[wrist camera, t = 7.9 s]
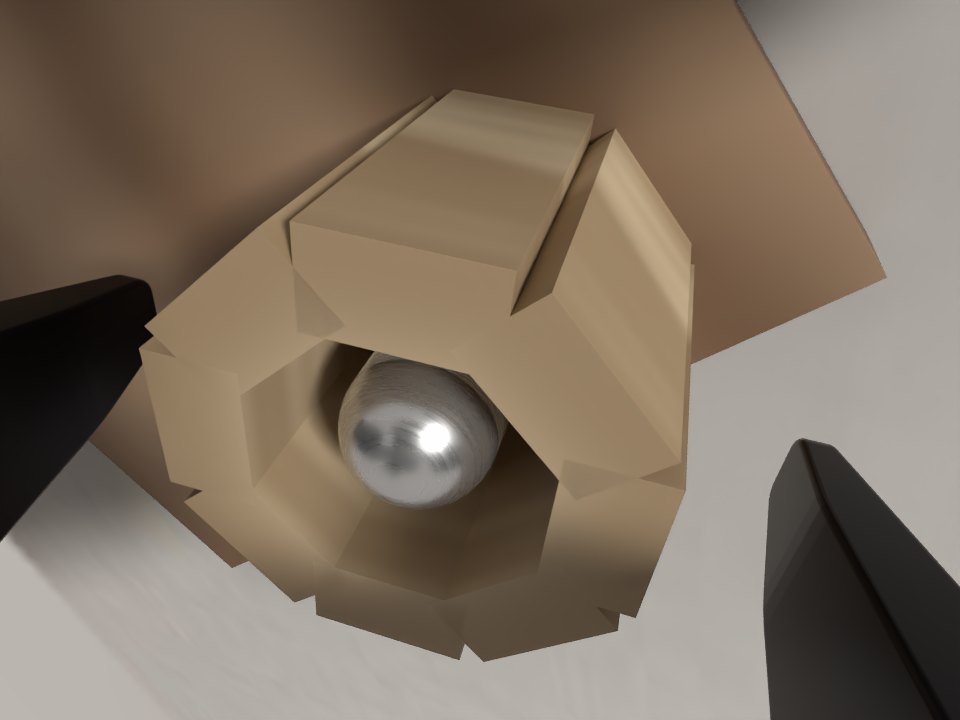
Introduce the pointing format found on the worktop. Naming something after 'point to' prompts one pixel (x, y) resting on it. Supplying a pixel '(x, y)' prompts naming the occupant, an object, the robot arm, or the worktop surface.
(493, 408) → the silver metal cylinder
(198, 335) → the wooden octagonal holder
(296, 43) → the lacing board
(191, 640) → the worktop surface
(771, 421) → the worktop surface
